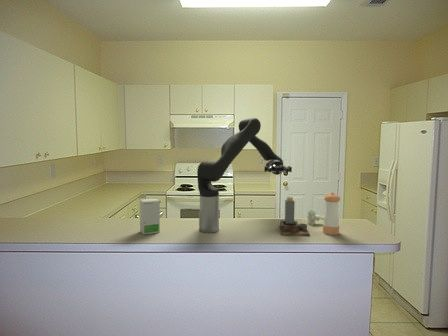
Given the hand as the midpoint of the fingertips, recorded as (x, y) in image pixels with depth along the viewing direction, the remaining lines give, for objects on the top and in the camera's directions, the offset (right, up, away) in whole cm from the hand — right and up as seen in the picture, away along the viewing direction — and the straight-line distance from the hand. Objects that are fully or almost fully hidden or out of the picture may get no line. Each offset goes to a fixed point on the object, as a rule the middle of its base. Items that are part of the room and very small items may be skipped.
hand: (278, 170), depth 162 cm
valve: (+21, -28, +3) cm, 35 cm away
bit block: (+5, -29, -10) cm, 31 cm away
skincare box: (-63, -29, -10) cm, 71 cm away
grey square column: (+3, -28, -10) cm, 30 cm away
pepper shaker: (+23, -30, -12) cm, 39 cm away
